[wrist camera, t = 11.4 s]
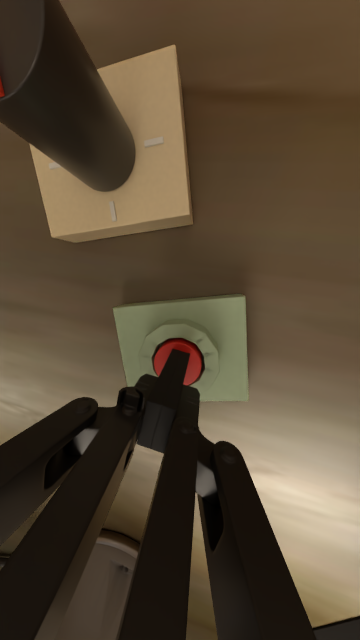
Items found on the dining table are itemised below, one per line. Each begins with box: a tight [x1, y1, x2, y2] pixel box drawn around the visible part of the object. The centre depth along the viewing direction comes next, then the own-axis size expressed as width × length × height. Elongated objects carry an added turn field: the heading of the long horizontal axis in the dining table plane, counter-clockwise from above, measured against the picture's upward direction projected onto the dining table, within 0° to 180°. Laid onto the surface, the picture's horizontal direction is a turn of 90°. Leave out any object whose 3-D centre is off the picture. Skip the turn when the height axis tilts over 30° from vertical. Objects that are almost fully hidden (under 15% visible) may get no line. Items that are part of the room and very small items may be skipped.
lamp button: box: [154, 338, 202, 385], centre depth 17 cm, size 4×4×2 cm
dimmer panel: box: [29, 45, 193, 243], centre depth 16 cm, size 12×10×3 cm
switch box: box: [113, 294, 249, 401], centre depth 18 cm, size 12×10×4 cm
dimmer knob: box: [0, 0, 135, 192], centre depth 10 cm, size 5×5×8 cm
